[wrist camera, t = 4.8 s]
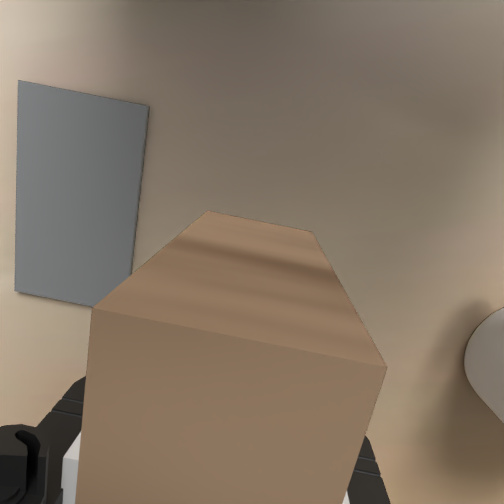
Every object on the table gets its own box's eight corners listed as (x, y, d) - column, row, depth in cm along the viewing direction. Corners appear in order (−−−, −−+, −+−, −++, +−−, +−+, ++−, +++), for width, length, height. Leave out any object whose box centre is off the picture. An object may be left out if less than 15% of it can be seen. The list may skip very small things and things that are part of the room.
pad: (22, 81, 23) (18, 79, 22) (149, 106, 23) (147, 105, 22) (18, 289, 26) (14, 291, 26) (127, 310, 26) (125, 313, 26)
